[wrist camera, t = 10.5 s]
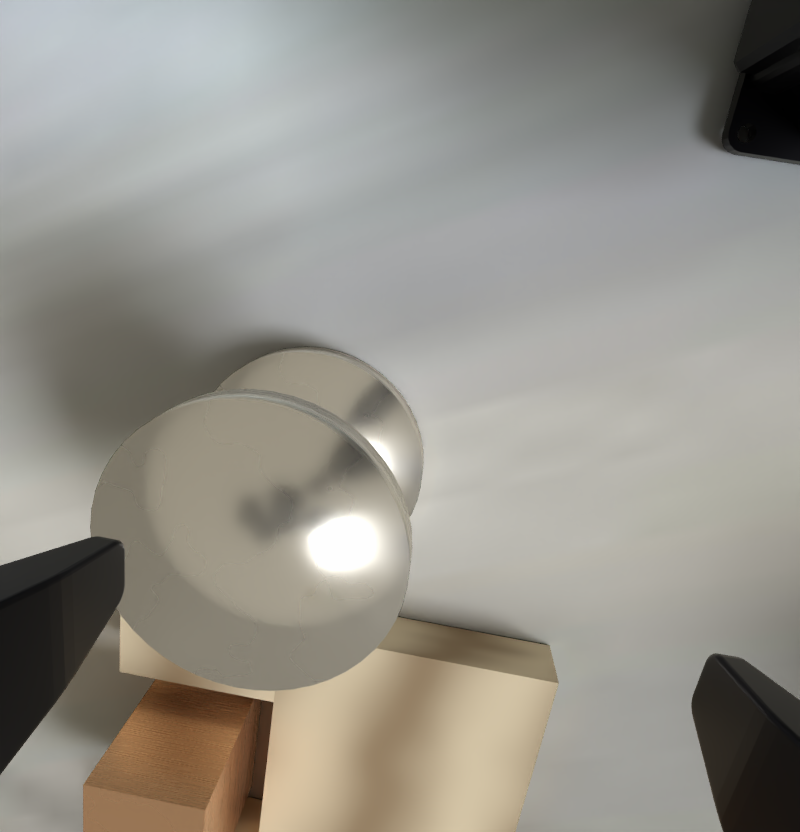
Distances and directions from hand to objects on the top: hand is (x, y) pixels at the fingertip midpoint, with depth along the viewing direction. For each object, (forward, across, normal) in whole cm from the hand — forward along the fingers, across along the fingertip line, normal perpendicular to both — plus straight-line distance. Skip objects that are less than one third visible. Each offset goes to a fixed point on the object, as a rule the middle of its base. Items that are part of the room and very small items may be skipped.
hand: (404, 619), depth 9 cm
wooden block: (+12, +7, +16) cm, 21 cm away
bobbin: (+12, +4, +3) cm, 13 cm away
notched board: (+12, +2, +16) cm, 20 cm away
